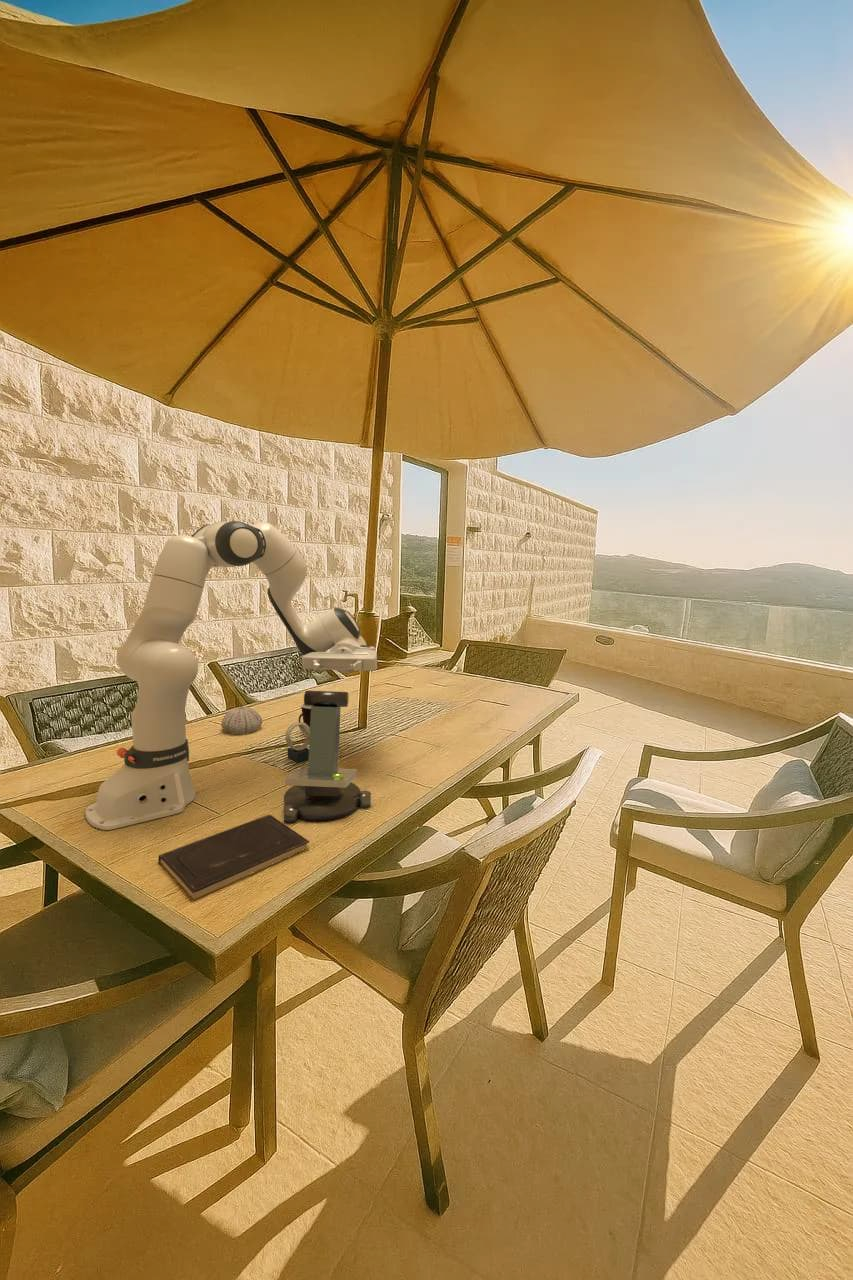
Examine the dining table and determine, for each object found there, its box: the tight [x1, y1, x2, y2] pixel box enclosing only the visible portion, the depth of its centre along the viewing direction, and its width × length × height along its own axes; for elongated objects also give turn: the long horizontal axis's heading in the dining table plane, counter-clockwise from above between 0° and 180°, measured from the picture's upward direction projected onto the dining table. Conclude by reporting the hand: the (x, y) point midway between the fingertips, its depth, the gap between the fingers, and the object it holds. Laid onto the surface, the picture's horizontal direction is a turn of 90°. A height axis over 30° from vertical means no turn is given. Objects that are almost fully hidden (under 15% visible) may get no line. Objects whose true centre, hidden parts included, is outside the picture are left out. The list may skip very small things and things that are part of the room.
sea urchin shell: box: [220, 706, 263, 735], centre depth 173 cm, size 13×14×8 cm
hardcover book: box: [158, 813, 310, 900], centre depth 99 cm, size 16×23×2 cm
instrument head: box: [283, 690, 358, 788], centre depth 122 cm, size 14×14×21 cm
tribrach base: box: [283, 781, 372, 825], centre depth 121 cm, size 20×21×6 cm
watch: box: [284, 721, 310, 764], centre depth 148 cm, size 6×8×11 cm
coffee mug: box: [298, 703, 311, 727], centre depth 170 cm, size 12×9×10 cm
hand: (334, 667), depth 130 cm, fingers open, 8 cm apart
